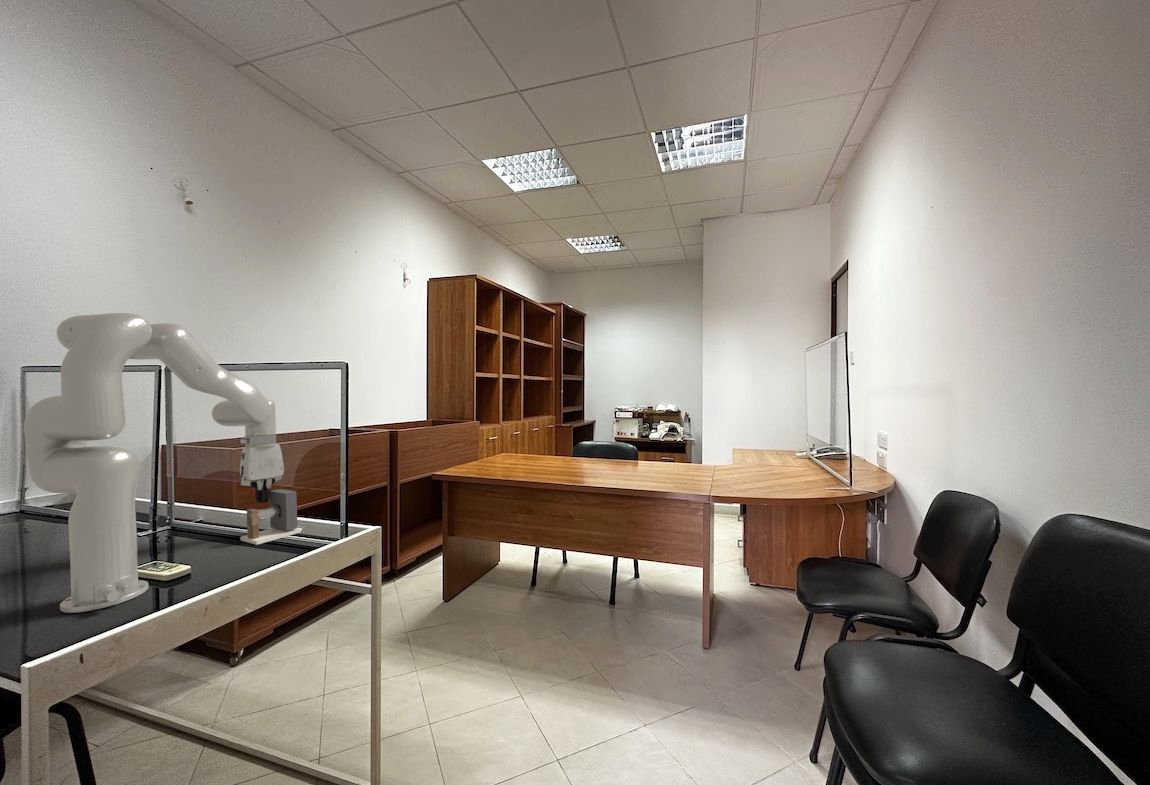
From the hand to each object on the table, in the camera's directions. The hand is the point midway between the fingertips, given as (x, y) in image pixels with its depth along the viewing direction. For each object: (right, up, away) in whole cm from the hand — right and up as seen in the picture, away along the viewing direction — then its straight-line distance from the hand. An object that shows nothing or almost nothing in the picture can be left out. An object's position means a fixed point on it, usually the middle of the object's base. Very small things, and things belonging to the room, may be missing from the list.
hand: (262, 502), depth 132 cm
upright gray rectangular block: (+6, -8, +1) cm, 10 cm away
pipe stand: (+4, -10, -1) cm, 11 cm away
